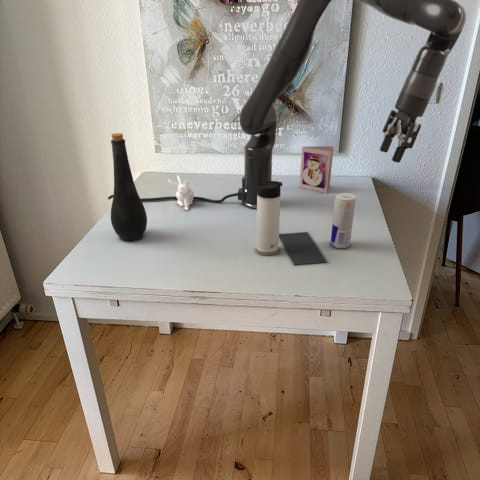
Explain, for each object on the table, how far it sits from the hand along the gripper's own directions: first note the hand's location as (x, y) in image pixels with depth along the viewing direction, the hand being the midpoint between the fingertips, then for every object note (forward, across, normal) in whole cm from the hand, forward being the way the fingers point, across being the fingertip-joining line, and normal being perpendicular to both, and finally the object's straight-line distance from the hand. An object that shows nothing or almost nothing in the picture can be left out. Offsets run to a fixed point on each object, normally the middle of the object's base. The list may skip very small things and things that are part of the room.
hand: (389, 156), depth 131 cm
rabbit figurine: (+40, -39, -47) cm, 73 cm away
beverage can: (+27, +2, -4) cm, 28 cm away
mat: (+30, +2, -16) cm, 34 cm away
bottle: (+43, -14, -63) cm, 78 cm away
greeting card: (+27, -47, +3) cm, 55 cm away
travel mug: (+33, +2, -25) cm, 41 cm away
